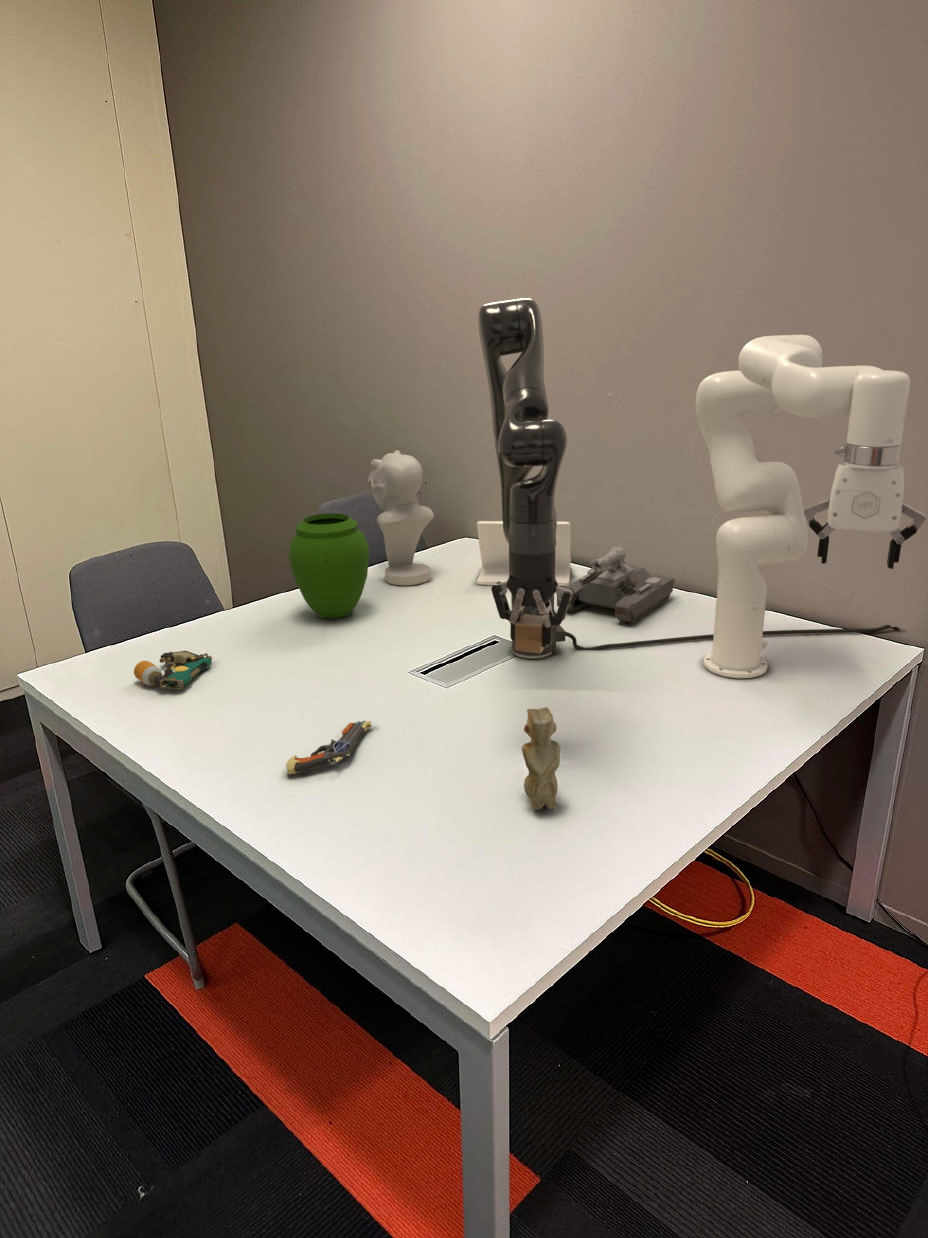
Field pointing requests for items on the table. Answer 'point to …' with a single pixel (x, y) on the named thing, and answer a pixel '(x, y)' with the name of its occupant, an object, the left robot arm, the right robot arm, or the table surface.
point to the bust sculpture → (400, 515)
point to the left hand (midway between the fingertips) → (531, 643)
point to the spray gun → (172, 669)
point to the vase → (329, 563)
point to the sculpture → (541, 759)
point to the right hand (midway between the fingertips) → (856, 563)
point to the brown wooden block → (529, 634)
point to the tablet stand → (498, 553)
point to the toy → (619, 587)
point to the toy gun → (330, 749)
